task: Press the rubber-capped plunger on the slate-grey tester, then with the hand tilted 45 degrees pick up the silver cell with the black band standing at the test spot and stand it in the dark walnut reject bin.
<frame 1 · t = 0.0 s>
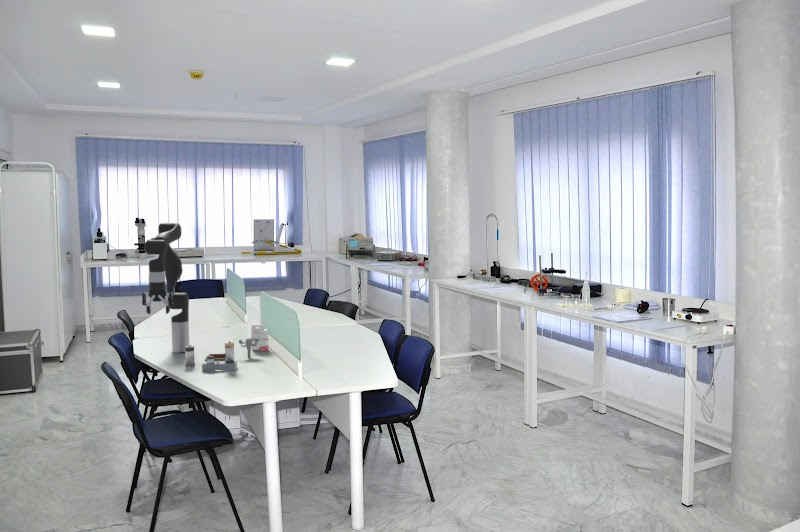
hand: (158, 313, 313), 29 cm above the table, tool pointing down, fingers open, 8 cm apart
reject bin: (218, 362, 334), on the table
ink cartridge box: (260, 350, 364), on the table
tester: (219, 369, 321), on the table
plunger: (210, 361, 320), point 4 cm above the table, slide at 0.0 cm
mechanical component: (249, 357, 347), on the table
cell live: (229, 362, 321), point 3 cm above the table, touching tester
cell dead: (190, 365, 329), on the table
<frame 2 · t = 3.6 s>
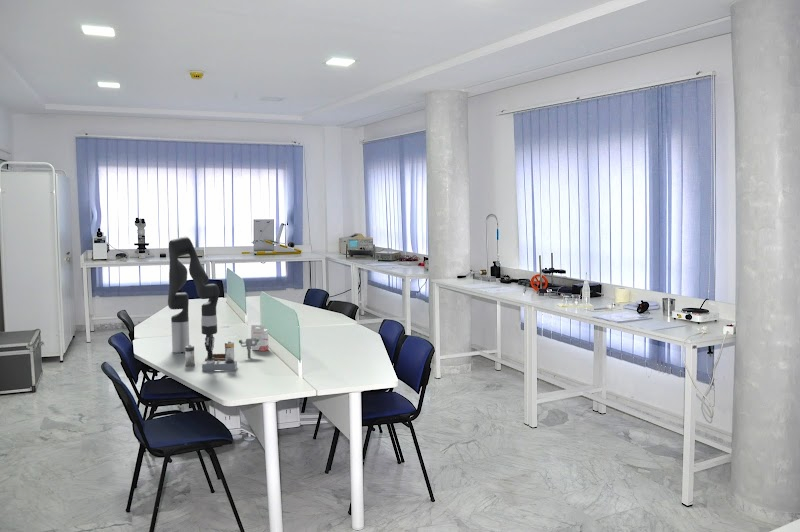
hand: (210, 358, 320), 6 cm above the table, tool pointing down, fingers closed
plunger: (210, 363, 320), point 3 cm above the table, slide at -0.7 cm, touching gripper
everything else where it was.
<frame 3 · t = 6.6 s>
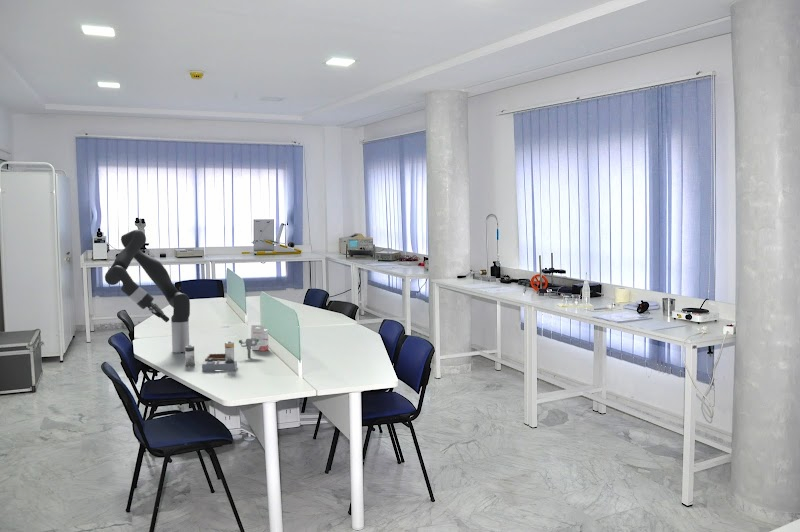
hand: (168, 320, 323), 24 cm above the table, tool tilted 45°, fingers closed
plunger: (210, 364, 320), point 3 cm above the table, slide at -1.1 cm
everything else where it was.
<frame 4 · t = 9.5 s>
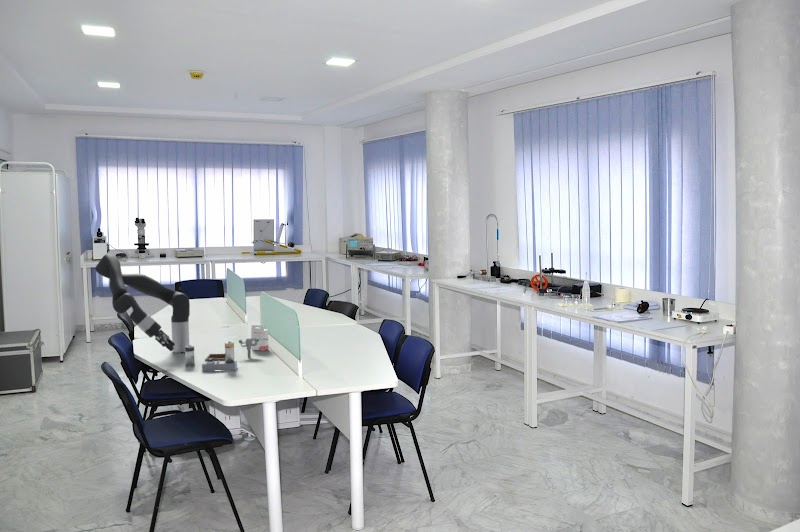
hand: (173, 347, 325), 10 cm above the table, tool tilted 45°, fingers open, 8 cm apart
nothing on the table moved.
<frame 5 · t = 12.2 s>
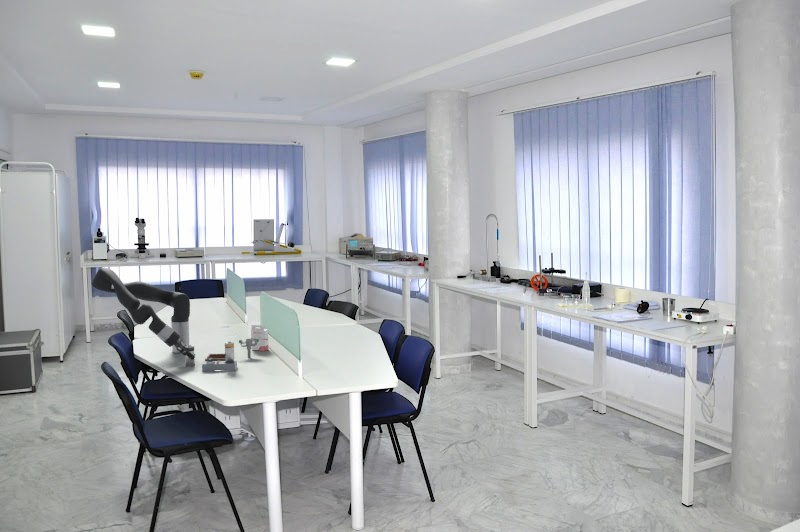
hand: (193, 357, 329), 4 cm above the table, tool tilted 45°, fingers closed on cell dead, 4 cm apart
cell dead: (190, 365, 329), on the table, touching gripper
everything else where it was.
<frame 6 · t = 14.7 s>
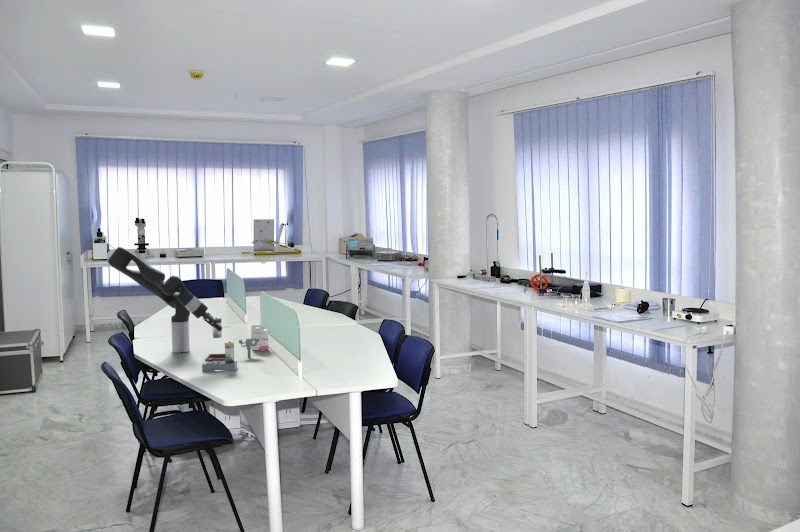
hand: (221, 329, 333), 18 cm above the table, tool tilted 45°, fingers closed on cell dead, 4 cm apart
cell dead: (217, 337, 333), point 14 cm above the table, touching gripper
everything else where it was.
when the fingers open (6 cm above the table, at t = 17.3 s): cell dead stays where it is, resting on reject bin.
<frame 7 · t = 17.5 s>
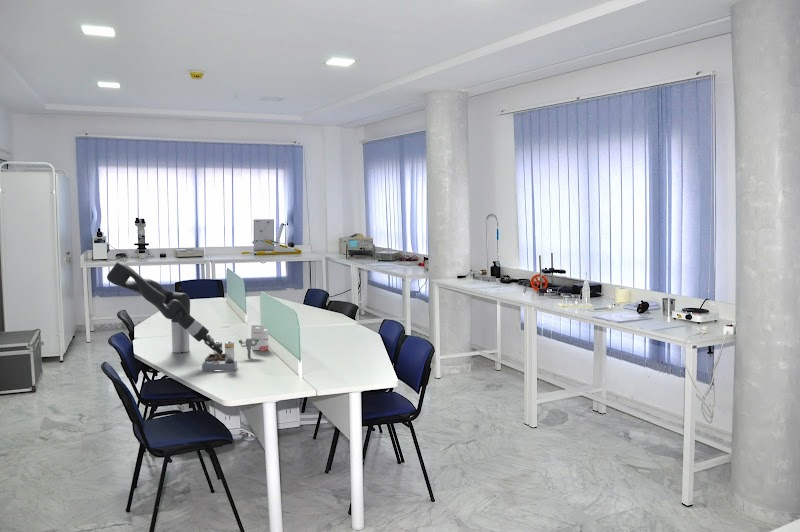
hand: (221, 351, 334), 6 cm above the table, tool tilted 45°, fingers open, 6 cm apart
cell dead: (218, 361, 334), point 1 cm above the table, touching reject bin
everything else where it was.
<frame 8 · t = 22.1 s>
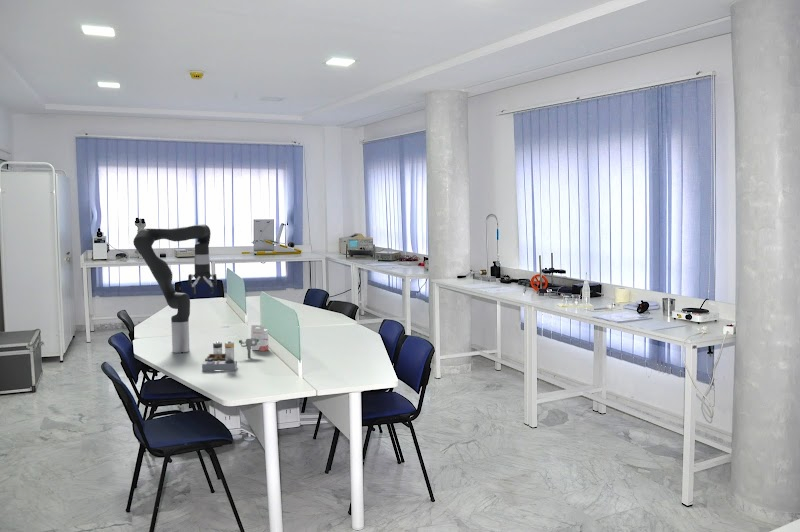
hand: (202, 293, 333), 36 cm above the table, tool pointing down, fingers open, 8 cm apart
nothing on the table moved.
at the end: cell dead inside the target area on the reject bin (0.1 cm from its centre), point 0.6 cm above the reject bin's base; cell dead tilted 0°; the gripper is holding nothing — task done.
